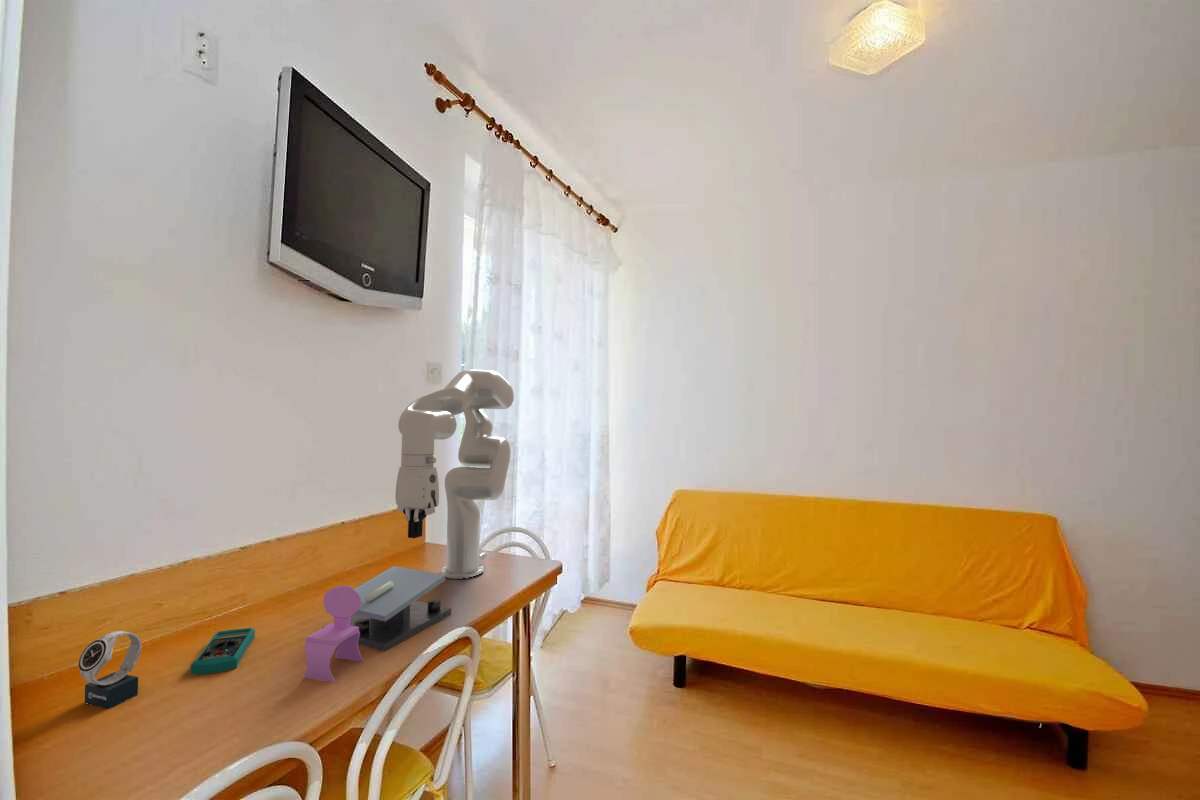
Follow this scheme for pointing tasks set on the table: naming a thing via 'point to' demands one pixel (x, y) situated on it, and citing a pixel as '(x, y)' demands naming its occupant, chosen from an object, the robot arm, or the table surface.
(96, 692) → the watch
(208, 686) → the table surface
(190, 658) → the table surface
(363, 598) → the plate
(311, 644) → the toy chair
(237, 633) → the digital multimeter
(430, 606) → the leveling stand
